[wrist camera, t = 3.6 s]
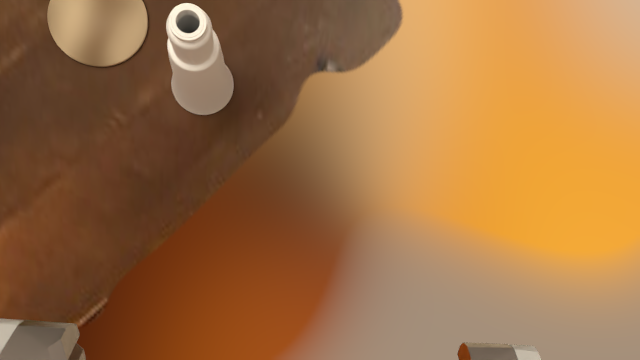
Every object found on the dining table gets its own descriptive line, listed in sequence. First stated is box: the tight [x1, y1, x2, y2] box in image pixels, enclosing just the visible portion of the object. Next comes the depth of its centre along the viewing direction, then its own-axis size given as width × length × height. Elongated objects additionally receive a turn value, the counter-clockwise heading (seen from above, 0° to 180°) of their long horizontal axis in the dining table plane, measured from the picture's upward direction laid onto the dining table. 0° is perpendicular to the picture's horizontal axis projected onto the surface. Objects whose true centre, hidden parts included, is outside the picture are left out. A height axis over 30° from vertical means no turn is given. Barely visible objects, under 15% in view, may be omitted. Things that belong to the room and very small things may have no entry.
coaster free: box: [47, 0, 148, 67], centre depth 51 cm, size 9×9×1 cm
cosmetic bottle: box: [166, 3, 234, 115], centre depth 42 cm, size 6×6×22 cm
